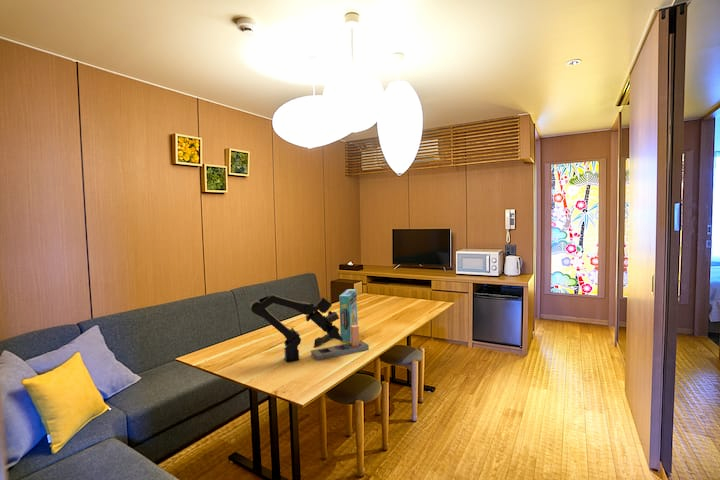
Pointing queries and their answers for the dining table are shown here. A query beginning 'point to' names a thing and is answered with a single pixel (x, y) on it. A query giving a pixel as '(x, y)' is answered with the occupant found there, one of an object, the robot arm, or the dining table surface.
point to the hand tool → (321, 340)
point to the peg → (354, 335)
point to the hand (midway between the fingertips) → (339, 337)
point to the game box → (348, 313)
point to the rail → (338, 350)
